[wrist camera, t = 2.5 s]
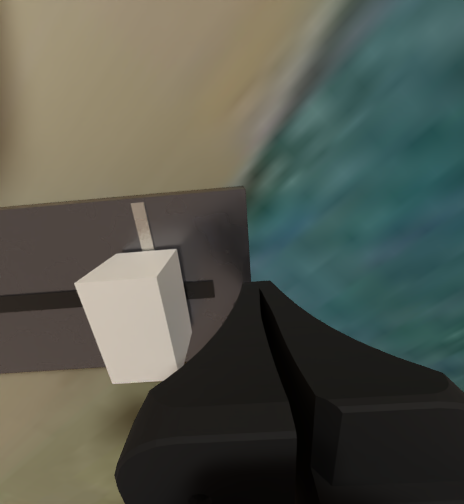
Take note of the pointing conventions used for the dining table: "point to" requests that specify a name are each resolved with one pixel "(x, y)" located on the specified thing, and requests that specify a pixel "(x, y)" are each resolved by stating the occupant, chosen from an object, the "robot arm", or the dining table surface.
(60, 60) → the dining table surface
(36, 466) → the dining table surface
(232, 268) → the panel
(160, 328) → the fader
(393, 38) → the dining table surface
